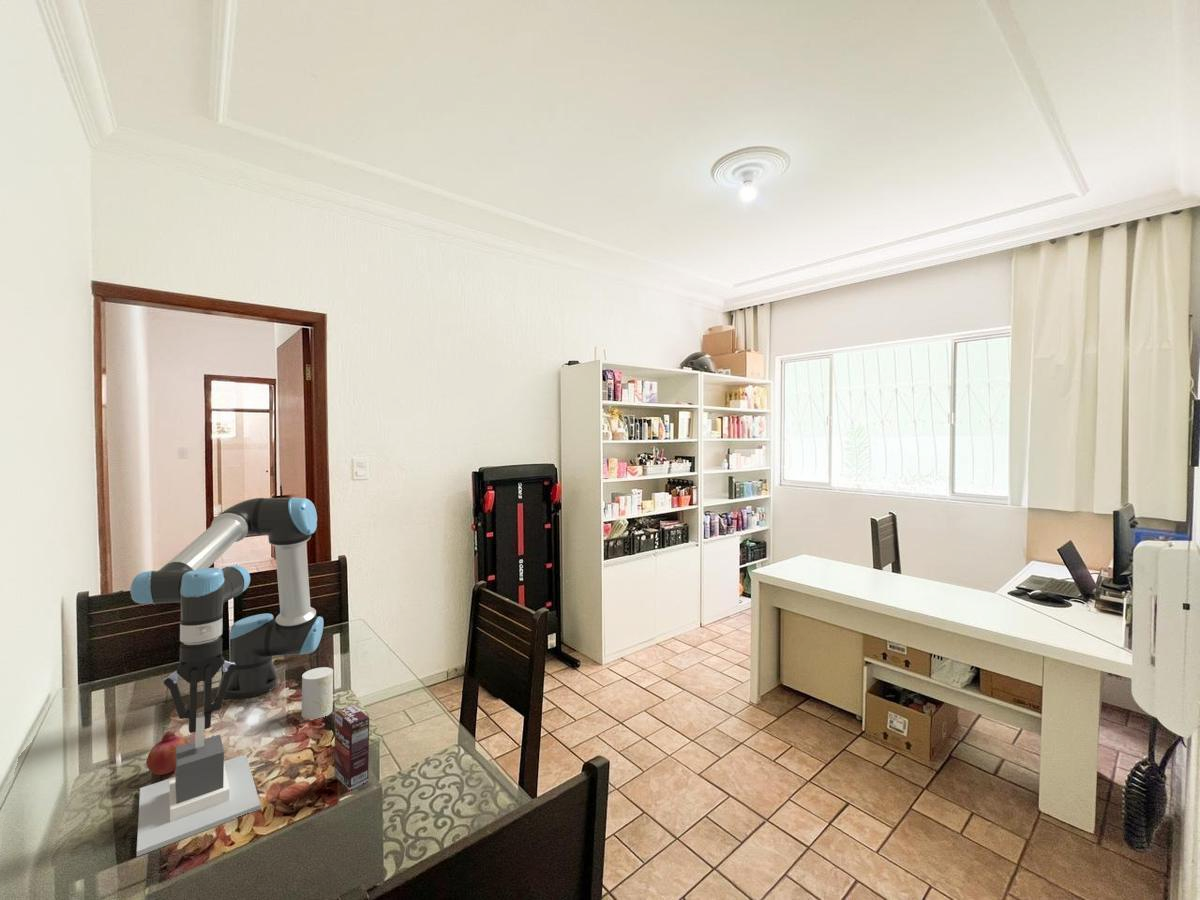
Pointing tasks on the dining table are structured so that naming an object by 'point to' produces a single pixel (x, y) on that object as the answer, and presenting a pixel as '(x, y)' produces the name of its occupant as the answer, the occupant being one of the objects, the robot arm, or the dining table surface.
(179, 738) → the fruit
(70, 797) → the dining table surface
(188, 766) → the plug
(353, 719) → the supplement box
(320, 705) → the white cylinder
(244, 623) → the robot arm
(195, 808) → the socket
